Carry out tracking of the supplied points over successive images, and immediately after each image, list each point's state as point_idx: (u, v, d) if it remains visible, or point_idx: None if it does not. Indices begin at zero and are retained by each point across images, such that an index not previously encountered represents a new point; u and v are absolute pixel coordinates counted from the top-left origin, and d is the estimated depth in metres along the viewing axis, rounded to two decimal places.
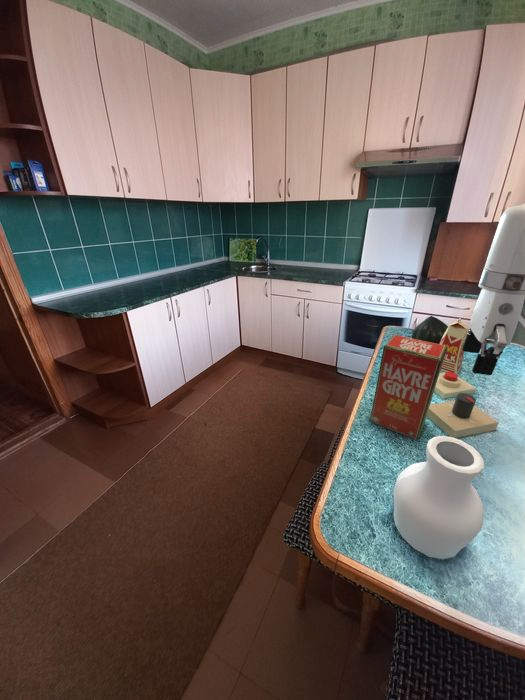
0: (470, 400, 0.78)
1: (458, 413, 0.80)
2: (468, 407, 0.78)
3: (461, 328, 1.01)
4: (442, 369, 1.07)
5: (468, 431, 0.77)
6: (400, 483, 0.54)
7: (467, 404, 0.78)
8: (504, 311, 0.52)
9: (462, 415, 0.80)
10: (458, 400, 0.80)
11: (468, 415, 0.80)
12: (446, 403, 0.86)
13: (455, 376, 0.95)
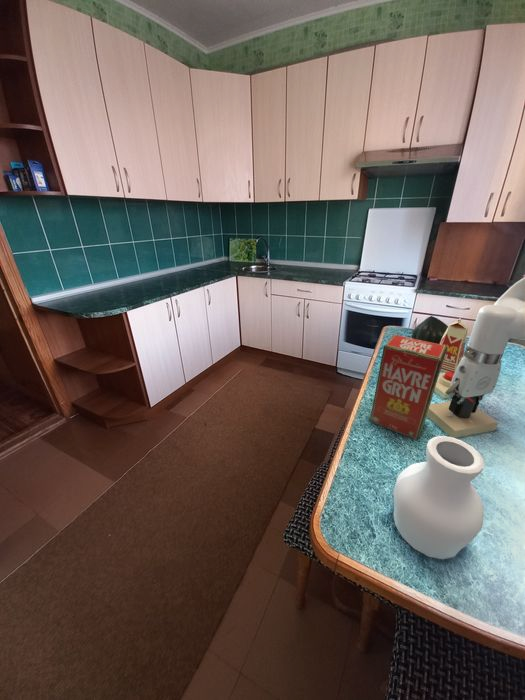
0: (470, 400, 0.78)
1: None
2: (468, 407, 0.78)
3: (461, 328, 1.01)
4: (442, 369, 1.07)
5: (468, 431, 0.77)
6: (400, 483, 0.54)
7: (467, 404, 0.78)
8: (465, 372, 0.74)
9: (462, 415, 0.80)
10: None
11: (468, 415, 0.80)
12: (446, 403, 0.86)
13: None
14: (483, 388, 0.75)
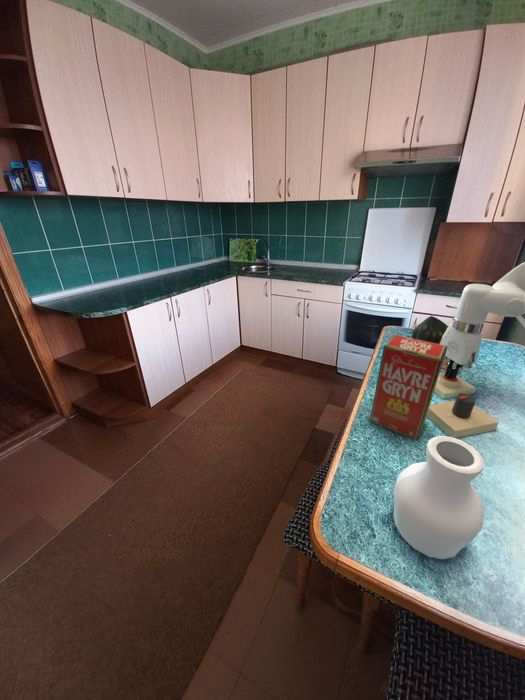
0: (461, 397, 0.79)
1: None
2: (456, 402, 0.81)
3: None
4: (442, 369, 1.07)
5: (468, 431, 0.77)
6: (400, 483, 0.54)
7: (456, 397, 0.81)
8: None
9: (452, 408, 0.82)
10: None
11: (455, 411, 0.81)
12: (446, 403, 0.86)
13: (454, 378, 0.95)
14: (452, 353, 0.91)
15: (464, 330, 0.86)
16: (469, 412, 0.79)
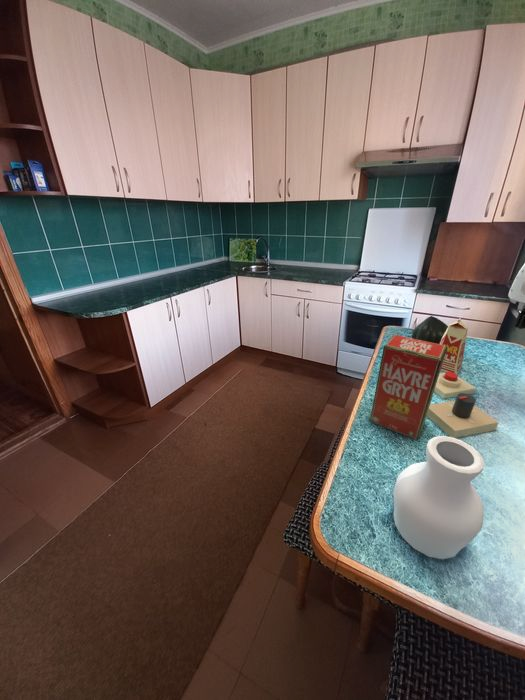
0: (461, 397, 0.79)
1: None
2: (456, 402, 0.81)
3: (461, 328, 1.01)
4: (442, 369, 1.07)
5: (468, 431, 0.77)
6: (400, 483, 0.54)
7: (456, 397, 0.81)
8: None
9: (452, 408, 0.82)
10: None
11: (455, 411, 0.81)
12: (446, 403, 0.86)
13: (455, 376, 0.95)
14: None
15: None
16: (469, 412, 0.79)
